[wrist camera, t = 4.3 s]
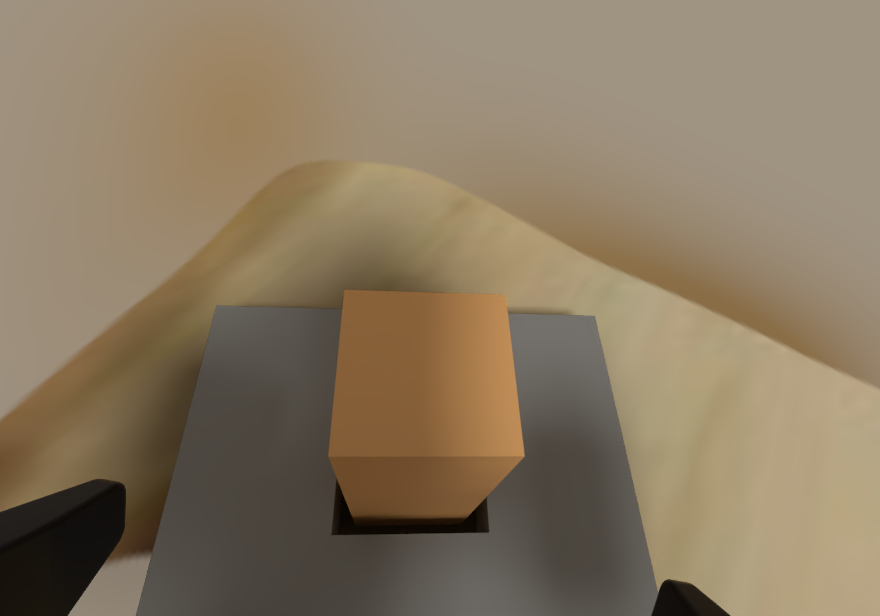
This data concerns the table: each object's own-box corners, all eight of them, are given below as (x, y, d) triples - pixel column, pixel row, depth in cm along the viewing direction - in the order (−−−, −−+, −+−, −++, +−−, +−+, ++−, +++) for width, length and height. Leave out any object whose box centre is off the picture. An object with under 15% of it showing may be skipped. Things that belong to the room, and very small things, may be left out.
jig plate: (635, 645, 17) (671, 651, 15) (157, 664, 15) (120, 674, 13) (575, 342, 23) (594, 315, 21) (233, 334, 22) (216, 305, 19)
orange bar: (460, 524, 18) (524, 456, 10) (355, 525, 18) (327, 456, 9) (456, 422, 20) (505, 294, 12) (362, 421, 20) (344, 289, 12)
